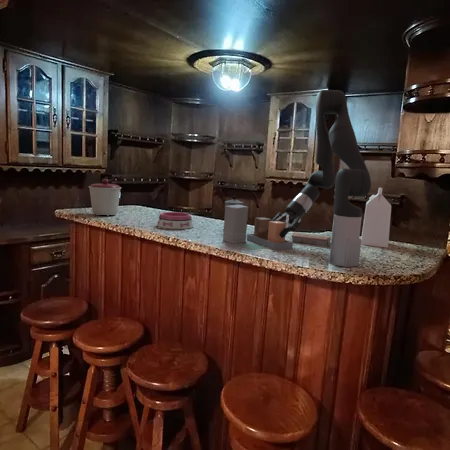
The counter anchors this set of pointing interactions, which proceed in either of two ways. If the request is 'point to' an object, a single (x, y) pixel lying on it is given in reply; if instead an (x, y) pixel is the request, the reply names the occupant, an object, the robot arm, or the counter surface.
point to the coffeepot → (233, 203)
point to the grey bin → (270, 243)
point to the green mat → (252, 246)
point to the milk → (376, 221)
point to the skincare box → (235, 223)
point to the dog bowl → (175, 220)
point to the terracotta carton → (276, 231)
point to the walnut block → (261, 228)
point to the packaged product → (311, 240)
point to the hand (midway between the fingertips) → (274, 234)
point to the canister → (104, 198)
